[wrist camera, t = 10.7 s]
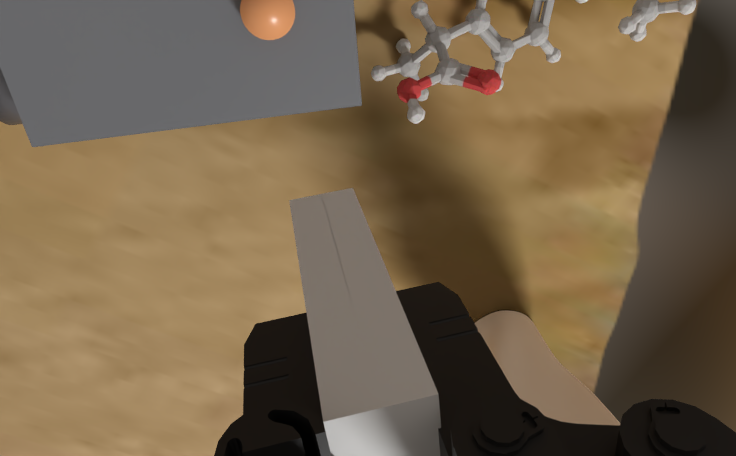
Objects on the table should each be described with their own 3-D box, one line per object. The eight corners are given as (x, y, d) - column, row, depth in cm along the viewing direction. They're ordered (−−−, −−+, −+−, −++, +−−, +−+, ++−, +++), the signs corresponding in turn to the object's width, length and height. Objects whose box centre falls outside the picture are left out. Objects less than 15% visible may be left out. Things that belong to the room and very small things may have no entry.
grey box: (41, 100, 34) (-44, 163, 24) (-29, -85, 29) (-169, -97, 19) (336, 65, 36) (365, 111, 27) (318, -111, 31) (346, -133, 22)
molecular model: (626, -133, 34) (757, -145, 26) (618, 30, 40) (724, 64, 31) (335, -54, 32) (375, -38, 24) (370, 104, 38) (413, 161, 30)
